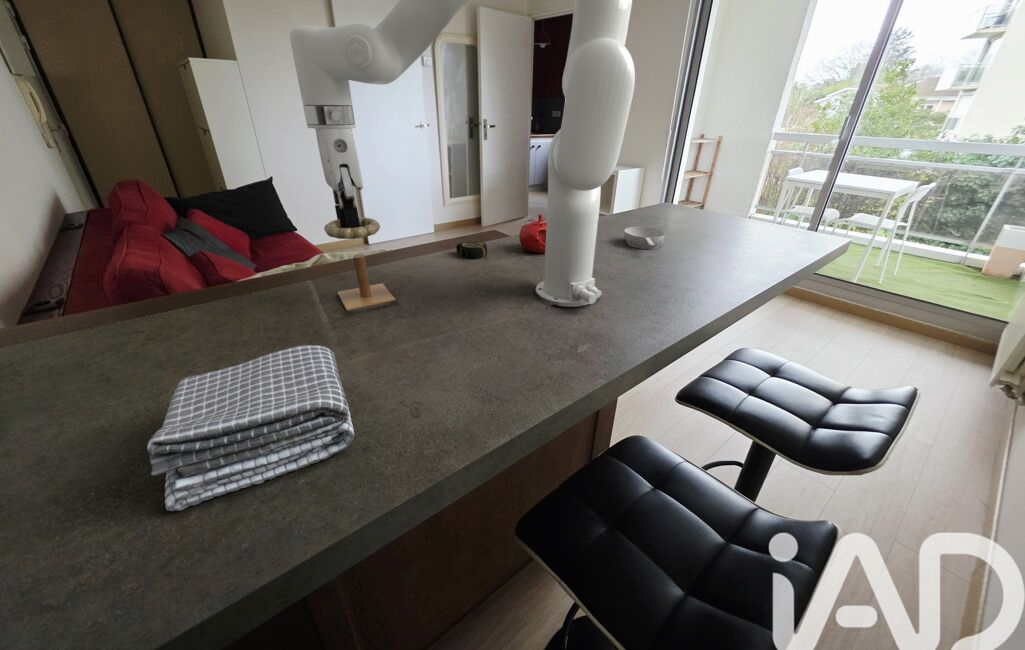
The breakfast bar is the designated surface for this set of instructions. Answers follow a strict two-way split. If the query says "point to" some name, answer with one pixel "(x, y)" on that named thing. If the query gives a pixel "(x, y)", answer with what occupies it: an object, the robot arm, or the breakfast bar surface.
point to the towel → (250, 424)
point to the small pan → (644, 237)
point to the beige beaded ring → (352, 229)
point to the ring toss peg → (364, 289)
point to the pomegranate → (534, 236)
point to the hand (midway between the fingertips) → (349, 227)
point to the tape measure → (472, 250)
